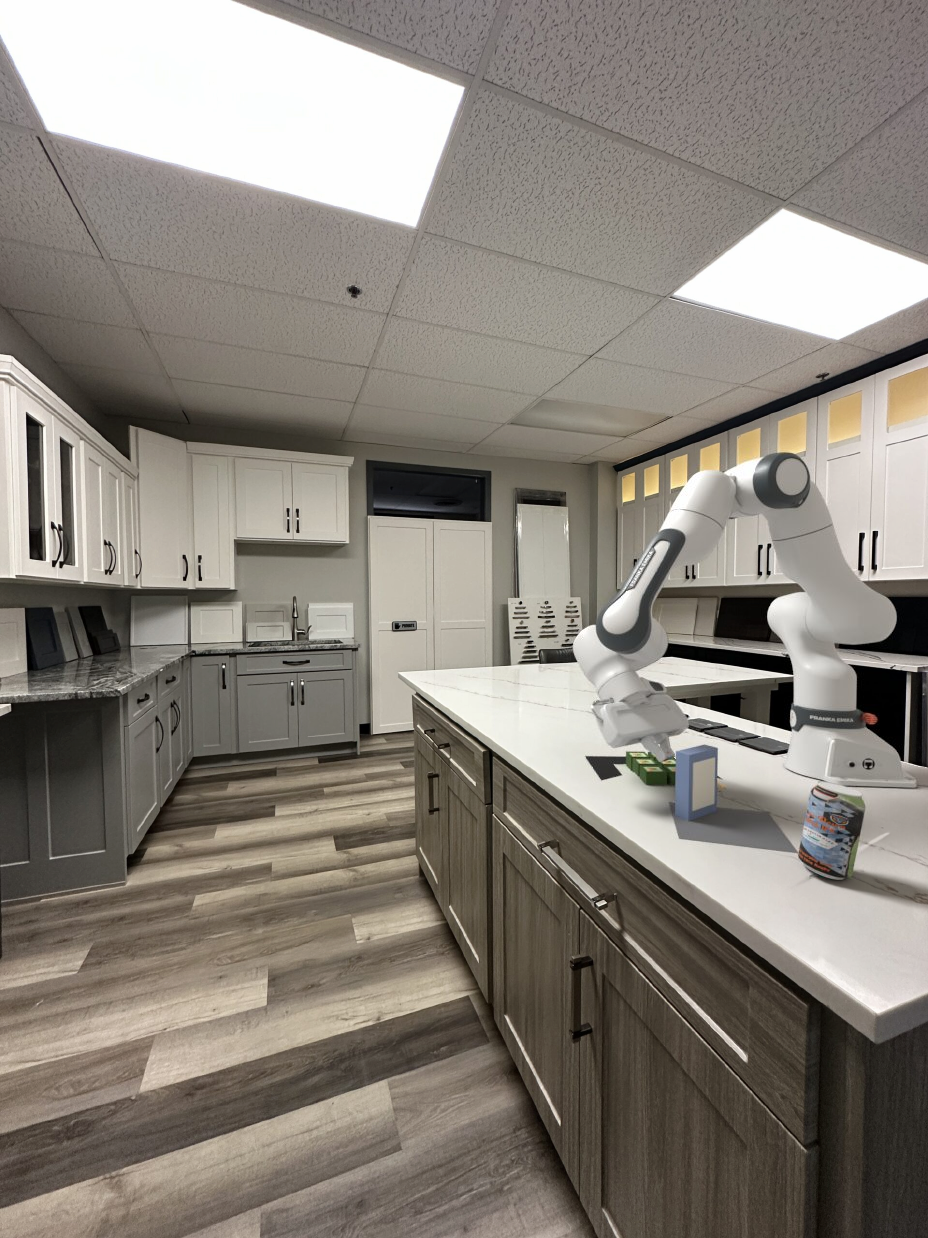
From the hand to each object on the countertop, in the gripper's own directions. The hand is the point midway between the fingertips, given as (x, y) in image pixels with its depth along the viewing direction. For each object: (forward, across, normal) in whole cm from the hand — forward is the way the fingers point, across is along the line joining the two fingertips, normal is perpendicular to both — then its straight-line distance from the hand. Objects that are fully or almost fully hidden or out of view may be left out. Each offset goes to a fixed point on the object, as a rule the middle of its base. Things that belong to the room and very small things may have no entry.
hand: (668, 759), depth 92 cm
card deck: (+10, 0, +2) cm, 10 cm away
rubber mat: (+14, 0, -2) cm, 14 cm away
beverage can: (+25, -2, -13) cm, 28 cm away
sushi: (-2, +12, +14) cm, 19 cm away
